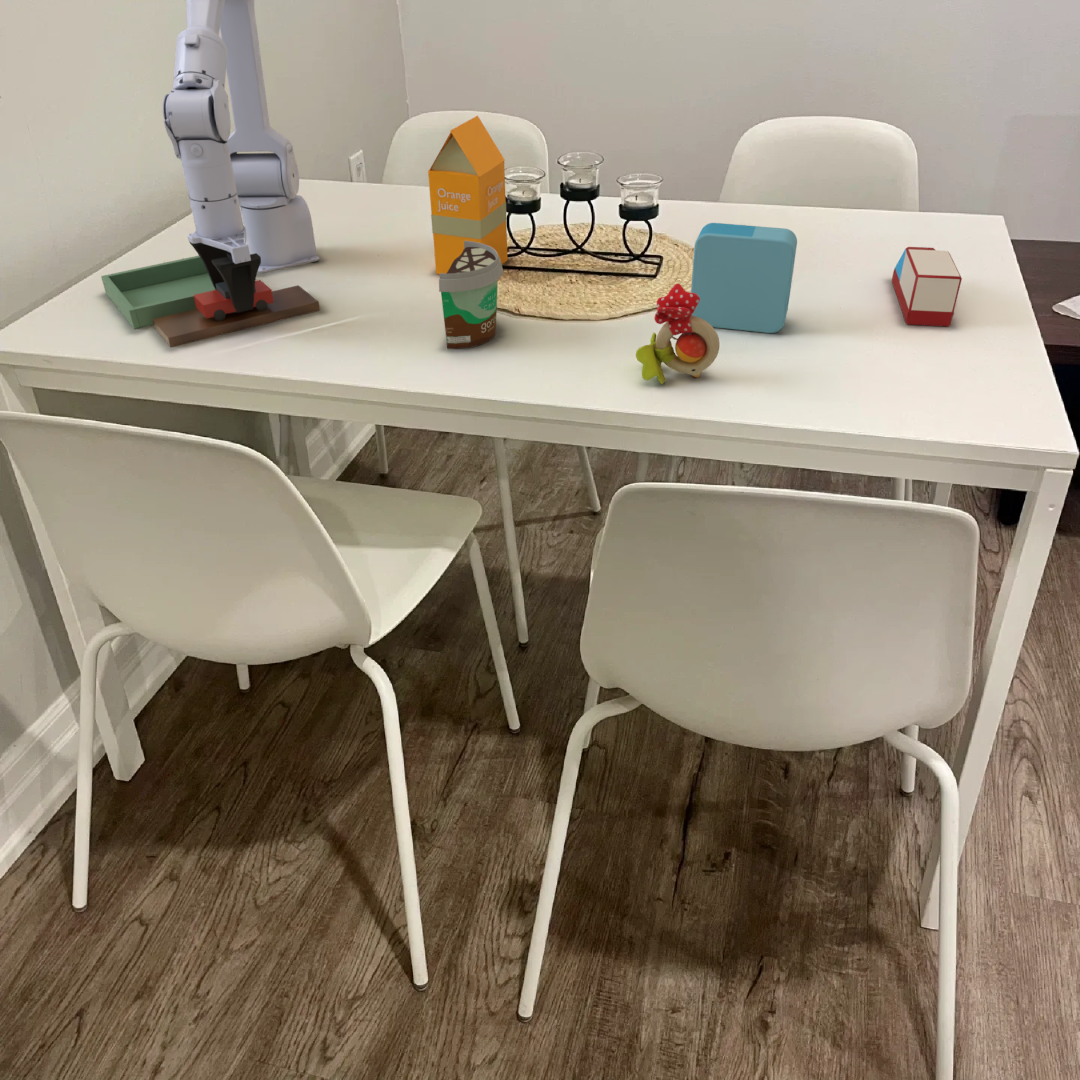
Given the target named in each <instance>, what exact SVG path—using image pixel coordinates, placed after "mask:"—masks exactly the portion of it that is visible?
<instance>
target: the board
mask: <svg viewBox="0 0 1080 1080" xmlns="http://www.w3.org/2000/svg"><path fill="white" fill-rule="evenodd" d="M272 295H273V300H274V303H270V304H267V308H266V309H265V310H264V311H259V310H258V309H257V308H256V307H253V309H252V310H248V311H243V312H237V311H236V312H232V313H228V314H225V315H226V316H225V318H224V320H222V321H217V320H215V319H214V317H211V318H206V317H205V316H204V315H203V314H202V313H201V312H200V311H199V310H198V309H194V310H190V311H186V312H182V313H177V314H173V315H169V316H164V317H160V318H156V319H153V324H154V325H153V327H154V329H155V330H156V332H157V333H158V334H159V336H161V338H162V340H163V341H165V342H166V344H167V346H169V347H170V348H174V347H177V346H183V345H185V344H190V343H194V342H197V341H202V340H206V339H210V338H215V337H218V336H222V335H227V334H230V333H235V332H238V331H242V330H246V329H251V328H255V327H258V326H262V325H266V324H270V323H274V322H277V321H278V322H279V321H283V320H286V319H292V318H295V317H298V316H303V315H307V314H311V313H315V312H319V311H321V309H320V303H319V300H317V299H316V298H315V297H314V296H312V295H311V294H310V293H309V292H307V291H306V290H305V289H303V287H301V286H300V285H298V284H297V285H294V286H289V287H284V288H281V289H276V290H272Z"/></svg>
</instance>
